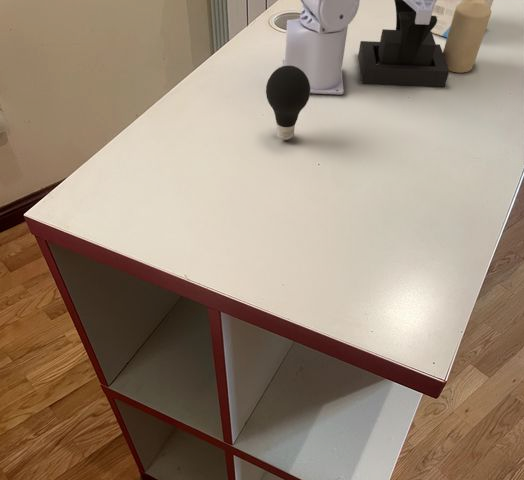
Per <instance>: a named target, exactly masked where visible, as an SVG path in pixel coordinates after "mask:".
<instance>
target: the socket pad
mask: <svg viewBox="0 0 524 480" xmlns="http://www.w3.org/2000/svg"><path fill="white" fill-rule="evenodd" d="M379 45H380V41H372V40H371V41H370V40H369V41H367V40H361V41H360V42H359V49H358V54H357V57H358V58H357V59H358V65H359V71H360V81H361V84H366V85H367V84H369V85H387V86H388V85H389V86H390V85H391V86H409V87H410V86H413V87H432V88H445V87H446V84H447V80H448V78H449V74H450V71H449V69H448V66H447V63H446V61H445V58H444V55H443V50H442V47H441V44H439V43H438V44H437V43H436V48H435V51H434V55H433V59H432V62H431V66H410V65H388V64H379V63H377V62H379V59H378V50H379Z"/></svg>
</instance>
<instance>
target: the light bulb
mask: <svg viewBox="0 0 524 480" xmlns="http://www.w3.org/2000/svg"><path fill="white" fill-rule="evenodd" d="M265 88H266V89H265V95H266V96H265V97H266V100H267V103H268V104H269V106H270V108H272V110H273V112H274V117H275V122H276V125H277V126H276V136H277V137H278V138H279V139H281V140H282V141H284V142H286V141H289V140H291V139H292V138H293V137H294V135H295V127H296V126H295V125H296V123H297V121H298V118H299V114H300V113H301V111H302V110H303V109H304V108H305V107H306V105H307V104H308V102H309V99H310V95H311V93H310V83H309V80H308V78H307V76H306V75H305V73H304V72H303V71H302V70H300V69H299V68H297V67H295V66H280V67H278V68H276V69H275V70H274V71H273V72H272V73H271V74H270V76H269V78H268V79H267V82H266V85H265Z"/></svg>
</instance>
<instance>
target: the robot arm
mask: <svg viewBox="0 0 524 480" xmlns="http://www.w3.org/2000/svg"><path fill="white" fill-rule="evenodd" d="M360 1H361V0H300V2H301V3H302V9H301V11H300V16H299V17H298V18H294V19H287V20H286V31H285V32H286V35H285V52H284V59H282V66H295V67H297V68H299V69H300V70H302V71H303V72H304V73H305V75H306V76H307V78H308V80H309V83H310V94H321V95H322V94H323V95H343V94H344V81H343V72H342V71H343V70H342V69H343V62H344V57H345V49H346V41H347V36H348V28H349V25H350V24H351V23H352V21H353V20H354V19H355V17H356V15H357V13H358V12H359V7H360V3H361V2H360ZM436 1H437V0H394V1H393V2H394V5H395V6H394V7H395V16H396V17H395V30H401V42H400V53H399V59H400V63H411V64H412V63H413V61H414V60H415V58H416V56H417V54H418V51H419V49H420V47H421V45H422V43H423V41H424V40H425V38H426V36H427V35H428V34H429V32H430V31H431V30H432V29H433V28H434V26H435V25H436V23H437V18H436V16H431V15H432V11H433V9H432V8H433V7H434V5H435V3H436ZM282 66H281V67H282Z"/></svg>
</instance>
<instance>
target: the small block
mask: <svg viewBox="0 0 524 480" xmlns="http://www.w3.org/2000/svg"><path fill="white" fill-rule="evenodd" d="M379 42H380V45H379V50H378V59H379V61H378V64H388V65H410V66H431V62H432V59H433V55H434V51H435V48H436V44H437V43H436V41H435V38H434V35H433V33H432V32H431V31H430V32H429V34H428V35H427V36H426V38H425V40H424V41H423V43H422V45H421V47H420V49H419V51H418V54H417V56H416V58H415V60H414V61H413V63H412V64H411V63H400V59H399V53H400V42H401V30H396V29H384V28H382V30H381V35H380V41H379Z"/></svg>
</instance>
